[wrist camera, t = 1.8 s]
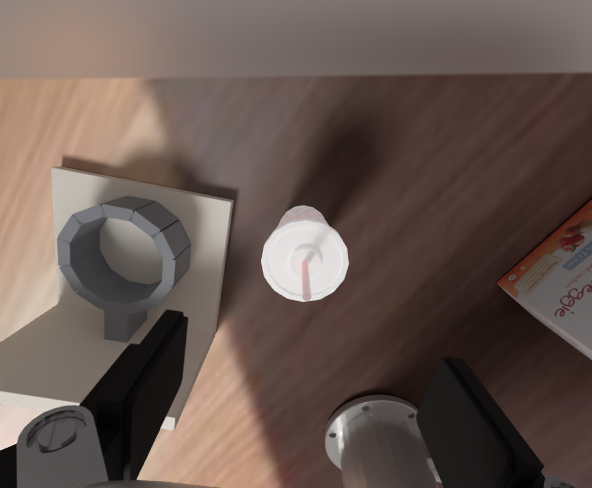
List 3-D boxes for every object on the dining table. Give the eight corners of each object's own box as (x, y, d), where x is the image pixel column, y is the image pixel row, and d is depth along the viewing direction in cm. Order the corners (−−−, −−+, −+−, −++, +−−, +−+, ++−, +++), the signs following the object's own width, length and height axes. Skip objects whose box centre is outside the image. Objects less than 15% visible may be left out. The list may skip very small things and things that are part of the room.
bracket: (233, 199, 29) (192, 236, 18) (215, 333, 34) (174, 430, 22) (60, 166, 28) (-100, 182, 17) (66, 308, 33) (-56, 395, 21)
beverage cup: (301, 269, 31) (303, 363, 18) (258, 227, 30) (227, 294, 17) (347, 230, 30) (386, 299, 17) (304, 183, 29) (310, 219, 15)
